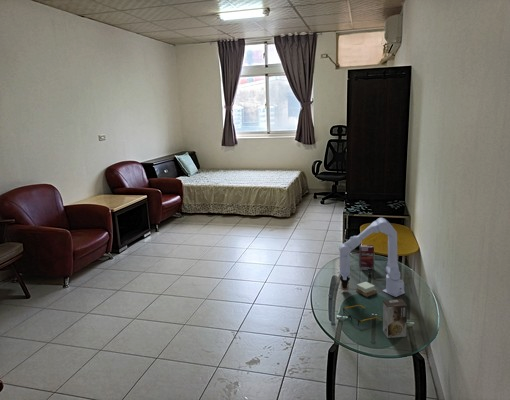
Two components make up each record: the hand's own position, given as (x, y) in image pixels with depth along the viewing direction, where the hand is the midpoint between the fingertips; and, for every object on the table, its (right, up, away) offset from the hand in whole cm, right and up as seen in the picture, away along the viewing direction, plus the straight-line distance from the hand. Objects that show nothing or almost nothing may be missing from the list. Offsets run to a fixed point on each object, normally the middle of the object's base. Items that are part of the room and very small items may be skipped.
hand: (344, 286), depth 222 cm
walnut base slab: (+12, -4, -1) cm, 13 cm away
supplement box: (+22, +5, +31) cm, 38 cm away
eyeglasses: (+2, -10, -27) cm, 29 cm away
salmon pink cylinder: (0, -1, 0) cm, 2 cm away
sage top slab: (+12, -1, -2) cm, 12 cm away
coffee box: (+13, -13, -43) cm, 47 cm away
